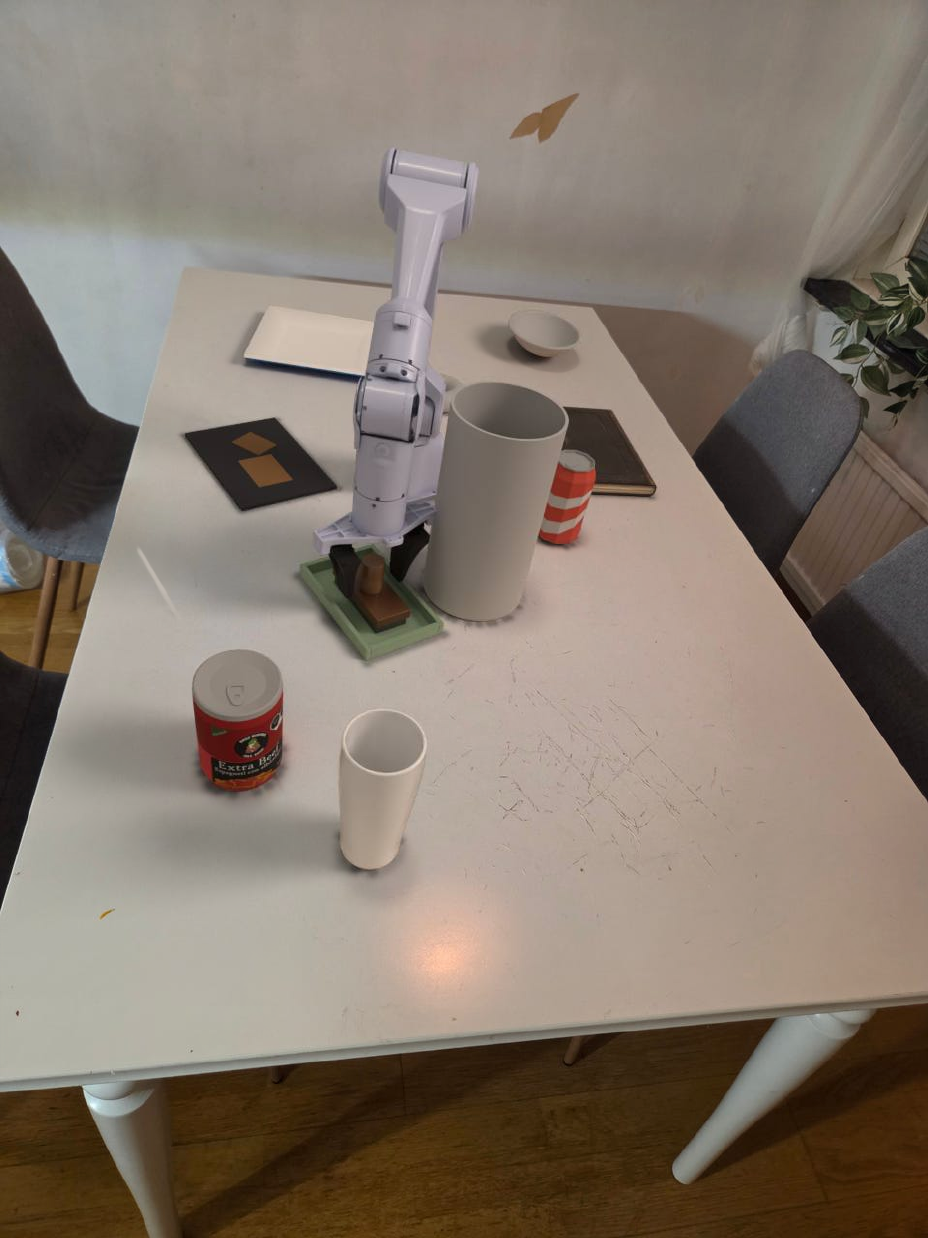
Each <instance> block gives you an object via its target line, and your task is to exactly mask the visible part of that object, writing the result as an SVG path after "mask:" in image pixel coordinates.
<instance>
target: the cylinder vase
mask: <svg viewBox="0 0 928 1238" xmlns="http://www.w3.org/2000/svg"><path fill="white" fill-rule="evenodd" d="M463 385H464V384H463ZM563 407H564V406H563ZM563 407H562V404H560V403H559V402H558V401H557V400H555V399H554V398H552V397H551V396H550V395H548V394H545V392H542V391H539V390H537V389H535V388H532V387H529V386H526V385H523V384H518V383H514V382H508V381H500V380H499V381H498V380H484V381H483V380H481V381H475V382H471V383H467V384H465V385H464V386H462V387H460V388H459V389H457V390H456V391H455V392H454V393H453V395H452V397H451V403H450V409H449V412H448V416H447V423H446V429H445V435H444V447H443V454H442V460H441V466H440V473H439V479H438V486H437V492H436V495H435V499H434V505H433V506H434V507H435V508H436V510H437V513H436V519H435V524H434V525H430V529H429V530H430V532H429V534H430V539H429V543H428V544H427V548H426V549H427V550H426V556H425V562H424V570H423V575H422V585H423V590H424V592H425V594H426V596H427V597H428V598H429V600H430V601H431V602H432V604H434V605H435V606H436V607H437V608H438V609H440V610H441V611H443V612H444V613H446V614H448V615H450V616H453V617H455V618H458V619H462V620H466V621H472V622H490V621H495V620H499V619H502V618H504V617H506V616H508V615H509V614H511V613H512V612H513V611H515V609H516V608H518V605H519V604H520V603H521V600H522V597H523V593H524V590H525V586H526V582H527V579H528V575H529V572H530V567H531V564H532V560H533V556H534V552H535V548H536V545H537V542H538V538H539V536H540V535H539V531H540V527H541V523H542V520H543V516H544V512H545V509H546V505H547V501H548V497H549V494H550V490H551V486H552V483H553V479H554V475H555V472H556V468H557V464H558V460H559V457H560V453H561V449H562V446H563V442H564V438H565V435H566V431H567V427H568V423H569V418H568V415H567V413H566V411H565V409H564V408H563Z"/></svg>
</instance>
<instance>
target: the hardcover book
mask: <svg viewBox="0 0 928 1238" xmlns="http://www.w3.org/2000/svg"><path fill="white" fill-rule="evenodd" d="M561 406H562V405H561ZM562 407H563V408H564V409H565V411H566V413H567V415H568V418H569V423H568V427H567V431H566V435H565V438H564V442H563V446H562V449H561V451H563V450H577V451H580V452H583V453H586V454H588V455H589V456H590V457H591V458H592V459H593V460H594V461H595V471H596V479H595V483H594V486H593V489H592V492H591V495H595V496H596V495H599V496H619V497H621V496H623V497H649V498H650V497H653V496H654V495H655V493H656V491H657V488H658V486H657V484H656V482H655V481H654V479H653V478H652V476H651V474H650V473H649V470H648V469H647V466H645V463H644V462H643V461H642V459H641V457H640V455H639V453H638V452H637V450H636V449H635V447H634V445H633V444H632V442H631V440H630V438H629V437H628V434H627V433H626V432H625V430H624V428H623V427H622V425H621V423H620V422H619V420H618V418H617V416H616V414H615V413H614V411H613V410H612V409H609V408H608V409H607V408H595V407H593V408H591V407H577V406H576V407H575V406H562Z"/></svg>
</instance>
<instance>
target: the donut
mask: <svg viewBox="0 0 928 1238" xmlns="http://www.w3.org/2000/svg"><path fill="white" fill-rule="evenodd" d="M438 373H439V372H438ZM439 374H440V375H441V376H442V377H443V378H444V379H445V382H444V383H446V389H445V403H444V410H443V413H449V409H450V403H451V397H452V395H453V393H454V392H455V391H456V390H457V389H459V388H460V387H462V386H464V384H463V383H462V382H461V381H460V380H459V379H457V378H455V377H453V376H451V375H448V374H446V373H445V374H444V373H439Z"/></svg>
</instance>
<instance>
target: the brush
mask: <svg viewBox="0 0 928 1238" xmlns="http://www.w3.org/2000/svg"><path fill="white" fill-rule="evenodd" d="M360 559H361V561H362V562H361V564H360V565H359V567H358V570H357V573H356V576H355V584H354V593H353V596H352V597H351V598H348V599H349V601H350V602H351V603H352V604H353V606H354V607H355V608H356V609H357V611H358V612H359V613H360V614H361V616H362V617H363V618H364V619H365V621H366V622H367V623H368V624H369V626H370V627H371V628H372V629H373V631H374V632H375V633H376V634H377V633H380V632H383V631H386V630H389V629H392V628H395V627H397V626H400V625H403V624H406V618H409V617H410V611H411V610H410V608H409V607H408V606H407V605H406V604H405V603H404V601H403V600H402V599H401V598H400V597H399V596H398V595H397V593H396V592H395V591H394V590H393V589H392V588H391V586H390V585H389V584H388V583H387V582H386V581H385V579H384V578H383V577H384V568H385V559H384V558H383V557H382V556H380V555H378V554H367V555H365V556H364V557H362V558H360ZM333 575H334V576H335V583H336V584H337V586H338V582H337V578H336V574H335V570H334V567H333Z"/></svg>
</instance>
